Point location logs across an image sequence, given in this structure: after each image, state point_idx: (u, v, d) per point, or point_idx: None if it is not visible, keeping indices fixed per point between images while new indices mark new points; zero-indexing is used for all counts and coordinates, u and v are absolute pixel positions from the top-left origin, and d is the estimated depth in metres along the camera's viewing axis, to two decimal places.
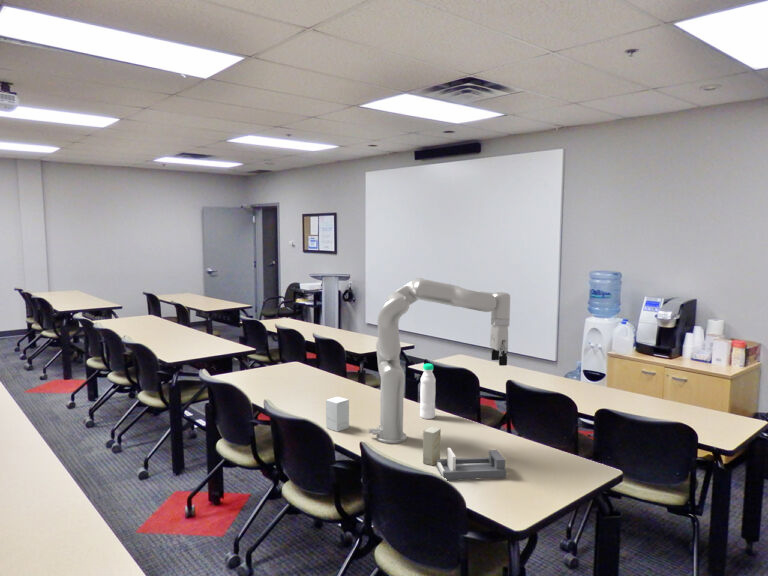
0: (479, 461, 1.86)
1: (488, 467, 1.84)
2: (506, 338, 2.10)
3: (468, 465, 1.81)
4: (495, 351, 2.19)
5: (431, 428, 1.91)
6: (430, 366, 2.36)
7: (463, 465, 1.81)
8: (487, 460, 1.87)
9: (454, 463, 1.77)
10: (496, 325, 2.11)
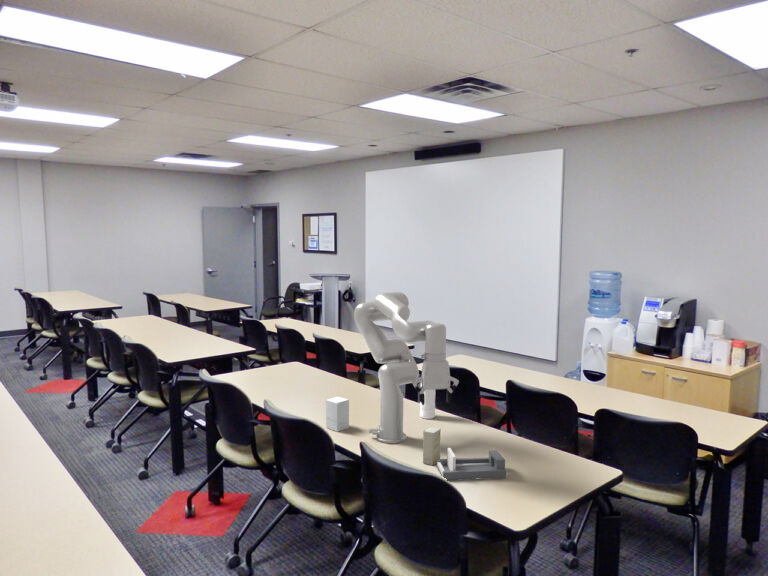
0: (479, 461, 1.86)
1: (488, 467, 1.84)
2: None
3: (468, 465, 1.81)
4: (423, 393, 1.88)
5: (431, 428, 1.91)
6: None
7: (463, 465, 1.81)
8: (487, 460, 1.87)
9: (454, 463, 1.77)
10: (444, 361, 1.86)
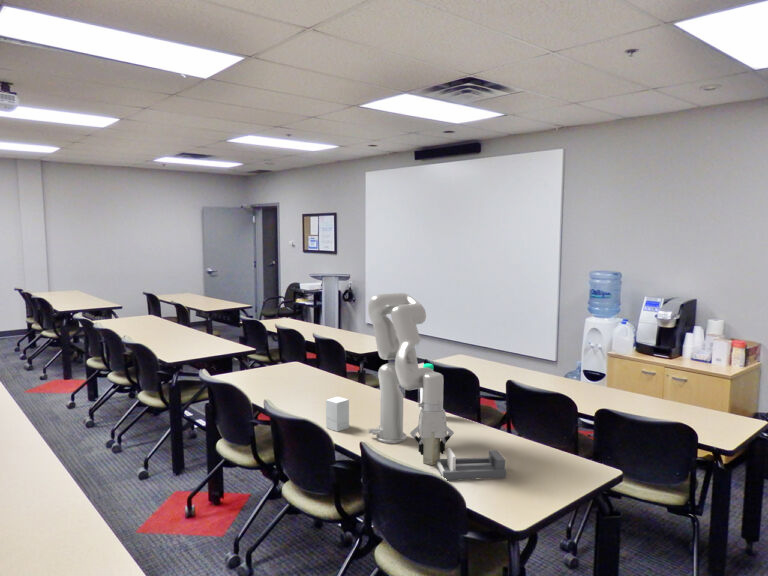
0: (479, 461, 1.86)
1: (488, 467, 1.84)
2: None
3: (468, 465, 1.81)
4: None
5: None
6: (430, 366, 2.36)
7: (463, 465, 1.81)
8: (487, 460, 1.87)
9: (454, 463, 1.77)
10: (441, 410, 1.87)
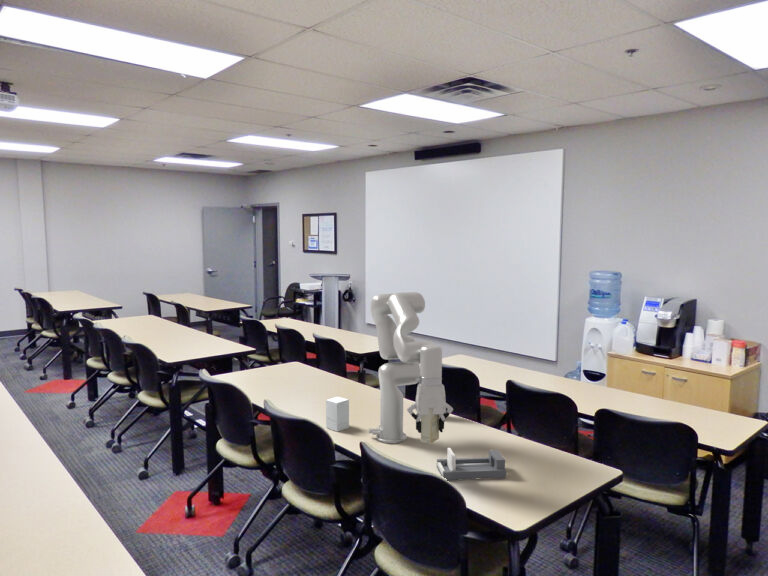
0: (479, 461, 1.86)
1: (488, 467, 1.84)
2: None
3: (468, 465, 1.81)
4: None
5: None
6: None
7: (463, 465, 1.81)
8: (487, 460, 1.87)
9: (454, 463, 1.77)
10: (440, 385, 1.76)
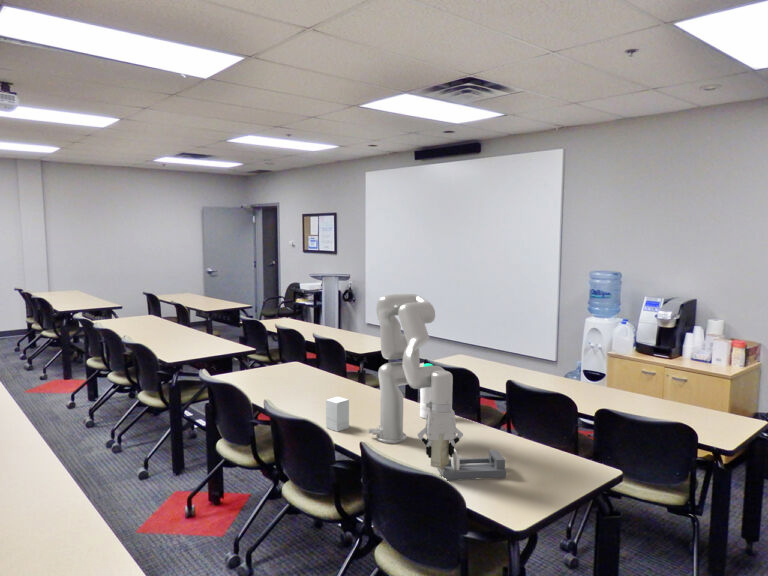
0: (479, 461, 1.86)
1: (488, 467, 1.84)
2: None
3: (472, 465, 1.81)
4: None
5: None
6: None
7: (467, 465, 1.81)
8: (487, 460, 1.87)
9: (458, 463, 1.77)
10: (450, 411, 1.77)
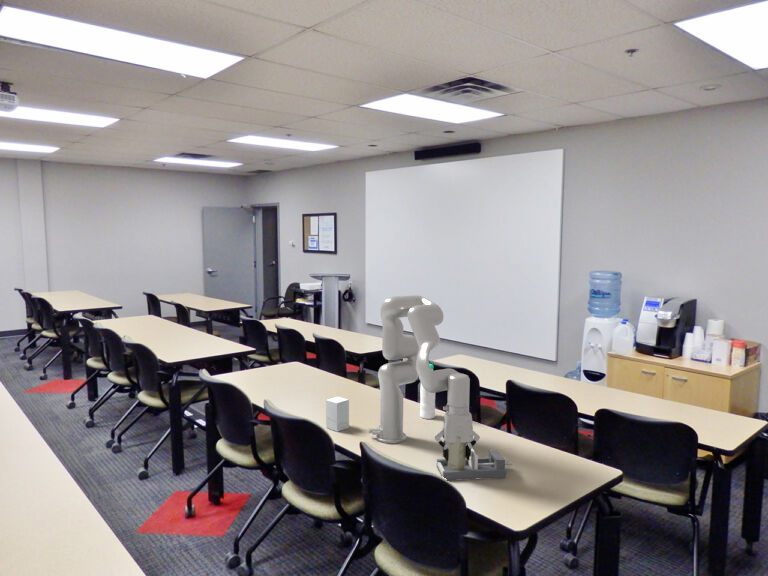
0: (479, 461, 1.86)
1: (488, 467, 1.84)
2: None
3: (490, 464, 1.82)
4: (447, 447, 1.80)
5: None
6: (430, 366, 2.36)
7: (485, 464, 1.82)
8: (487, 460, 1.87)
9: (476, 462, 1.78)
10: (467, 414, 1.77)
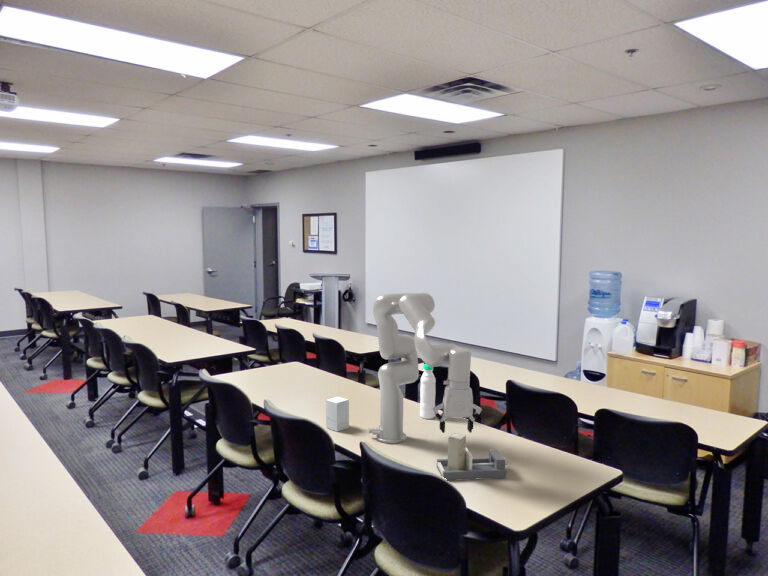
0: (479, 461, 1.86)
1: (488, 467, 1.84)
2: None
3: (484, 464, 1.82)
4: (444, 421, 1.80)
5: (456, 435, 1.81)
6: None
7: (479, 464, 1.82)
8: (487, 460, 1.87)
9: (471, 462, 1.77)
10: (468, 388, 1.77)
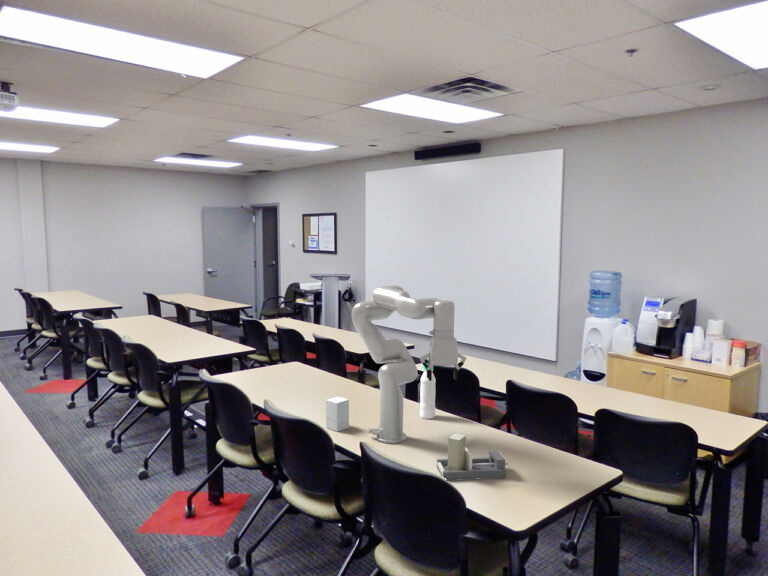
0: (479, 461, 1.86)
1: (488, 467, 1.84)
2: None
3: (484, 464, 1.82)
4: (430, 369, 1.89)
5: (456, 435, 1.81)
6: None
7: (479, 464, 1.82)
8: (487, 460, 1.87)
9: (471, 462, 1.77)
10: (452, 337, 1.87)
